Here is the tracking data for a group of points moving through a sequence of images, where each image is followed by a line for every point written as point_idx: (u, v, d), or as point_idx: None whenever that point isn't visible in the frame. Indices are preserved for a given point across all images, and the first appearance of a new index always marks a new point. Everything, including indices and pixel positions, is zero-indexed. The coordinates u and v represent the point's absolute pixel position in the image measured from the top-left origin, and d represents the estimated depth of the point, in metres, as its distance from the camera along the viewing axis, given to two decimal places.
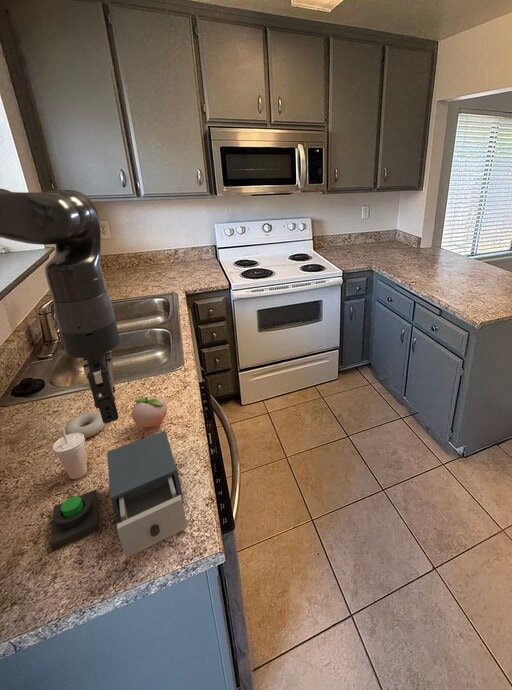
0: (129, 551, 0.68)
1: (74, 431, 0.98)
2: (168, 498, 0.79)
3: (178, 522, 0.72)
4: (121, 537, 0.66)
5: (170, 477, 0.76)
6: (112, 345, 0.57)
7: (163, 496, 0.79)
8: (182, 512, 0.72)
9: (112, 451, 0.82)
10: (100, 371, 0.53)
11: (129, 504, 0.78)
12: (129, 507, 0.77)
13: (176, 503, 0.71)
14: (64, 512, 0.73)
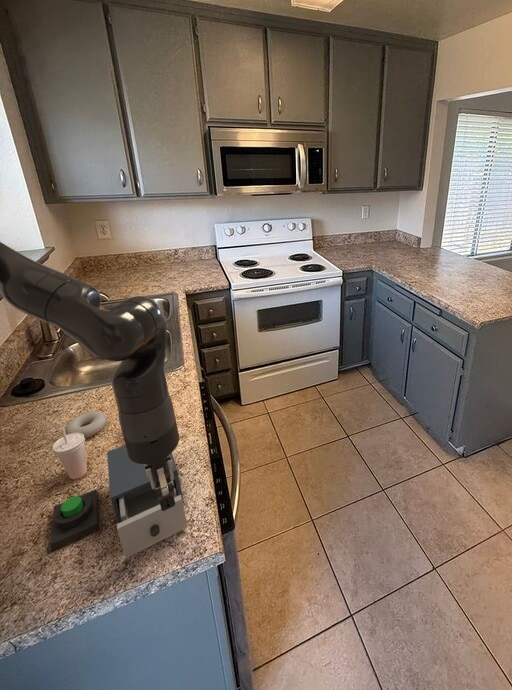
0: (129, 551, 0.68)
1: (74, 431, 0.98)
2: None
3: (178, 522, 0.72)
4: (121, 537, 0.66)
5: None
6: (174, 446, 0.56)
7: None
8: (182, 512, 0.72)
9: (112, 451, 0.82)
10: (168, 490, 0.54)
11: (129, 504, 0.78)
12: (129, 507, 0.77)
13: (176, 503, 0.71)
14: (64, 512, 0.73)
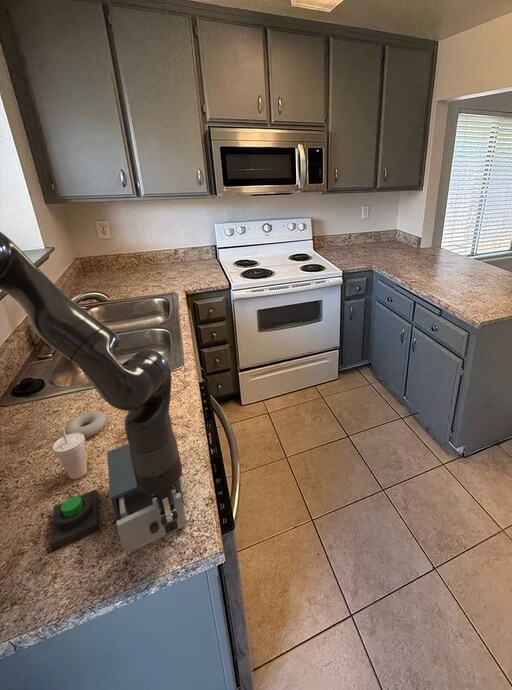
0: (129, 548, 0.69)
1: (74, 431, 0.98)
2: None
3: None
4: (121, 534, 0.67)
5: None
6: (177, 478, 0.64)
7: None
8: (182, 509, 0.73)
9: (112, 451, 0.82)
10: (172, 517, 0.62)
11: (129, 502, 0.78)
12: (129, 505, 0.77)
13: None
14: (64, 512, 0.73)
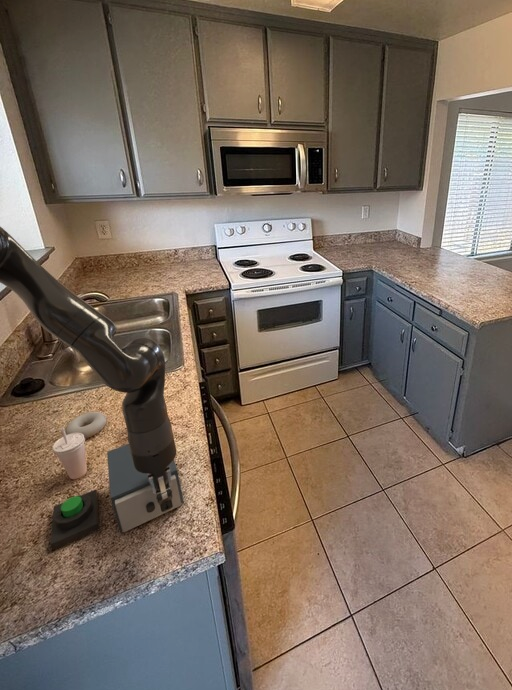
0: (126, 526, 0.73)
1: (74, 431, 0.98)
2: None
3: (172, 500, 0.77)
4: (119, 512, 0.71)
5: None
6: (172, 459, 0.68)
7: None
8: (177, 490, 0.77)
9: (112, 451, 0.82)
10: (167, 494, 0.66)
11: None
12: None
13: None
14: (64, 512, 0.73)
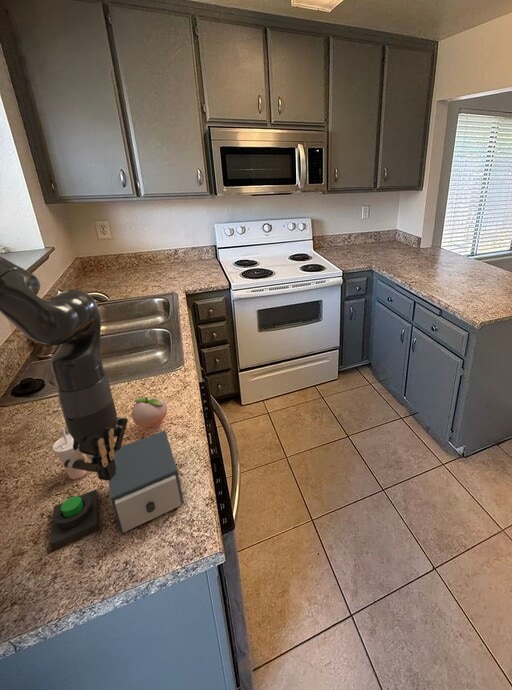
0: (126, 526, 0.73)
1: None
2: None
3: (172, 500, 0.77)
4: (119, 512, 0.71)
5: None
6: (92, 431, 0.61)
7: None
8: (177, 490, 0.77)
9: None
10: (72, 465, 0.60)
11: None
12: None
13: (170, 482, 0.75)
14: (64, 512, 0.73)
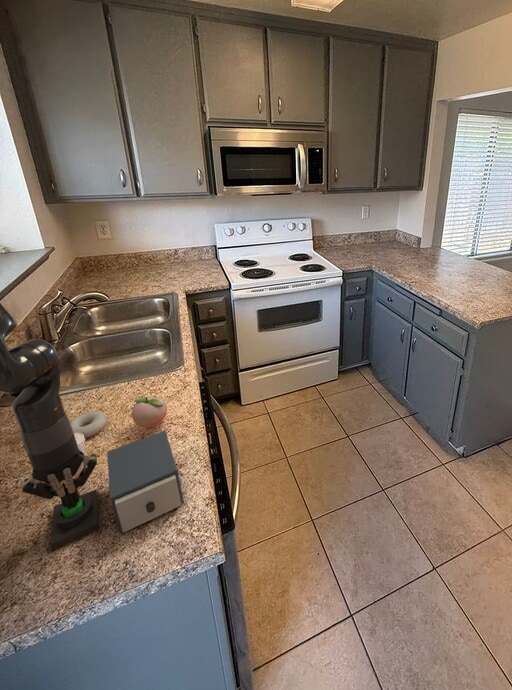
0: (126, 526, 0.73)
1: (74, 431, 0.98)
2: None
3: (172, 500, 0.77)
4: (119, 512, 0.71)
5: None
6: (36, 468, 0.67)
7: None
8: (177, 490, 0.77)
9: (112, 451, 0.82)
10: None
11: None
12: None
13: (170, 482, 0.75)
14: (65, 514, 0.73)
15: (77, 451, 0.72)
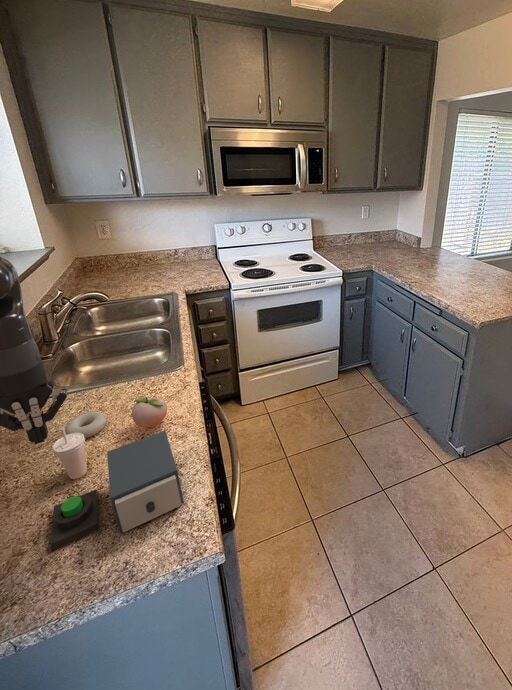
0: (126, 526, 0.73)
1: (74, 431, 0.98)
2: None
3: (172, 500, 0.77)
4: (119, 512, 0.71)
5: None
6: None
7: None
8: (177, 490, 0.77)
9: (112, 451, 0.82)
10: None
11: None
12: None
13: (170, 482, 0.75)
14: (64, 512, 0.73)
15: (45, 381, 0.68)
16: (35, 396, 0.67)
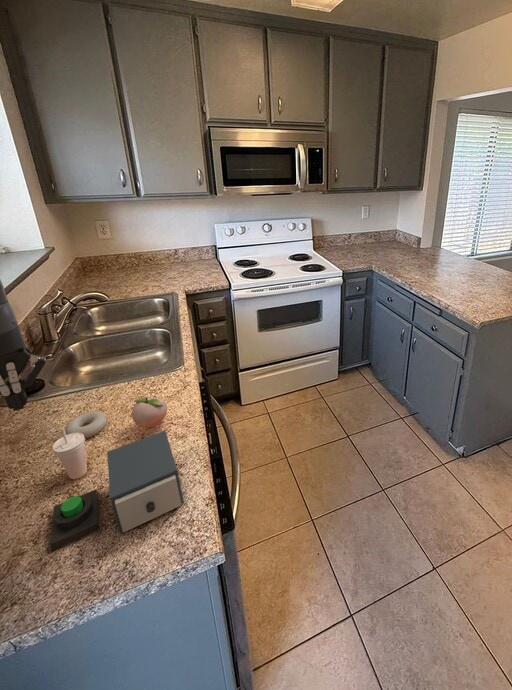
0: (126, 526, 0.73)
1: (74, 431, 0.98)
2: None
3: (172, 500, 0.77)
4: (119, 512, 0.71)
5: None
6: None
7: None
8: (177, 490, 0.77)
9: (112, 451, 0.82)
10: None
11: None
12: None
13: (170, 482, 0.75)
14: (64, 512, 0.73)
15: (22, 346, 0.67)
16: (12, 361, 0.67)
